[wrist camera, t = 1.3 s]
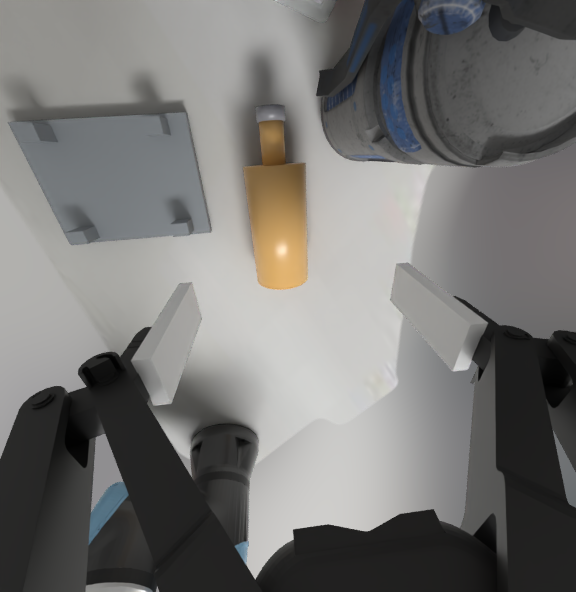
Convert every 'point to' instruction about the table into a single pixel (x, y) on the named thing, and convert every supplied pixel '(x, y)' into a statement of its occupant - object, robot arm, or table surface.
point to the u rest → (117, 175)
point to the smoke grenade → (454, 83)
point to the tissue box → (311, 8)
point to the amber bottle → (277, 207)
